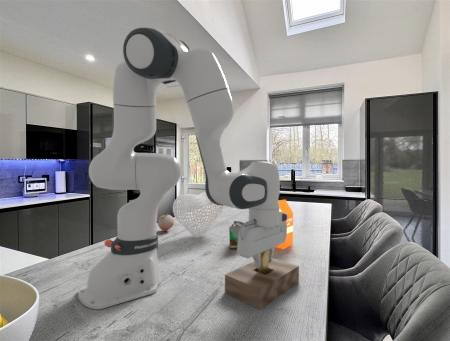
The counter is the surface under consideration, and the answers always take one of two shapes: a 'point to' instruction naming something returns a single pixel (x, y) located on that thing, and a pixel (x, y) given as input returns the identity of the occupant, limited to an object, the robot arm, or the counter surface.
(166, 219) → the decorative fruit
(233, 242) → the food container
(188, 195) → the heart
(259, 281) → the hole block
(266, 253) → the peg
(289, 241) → the orange juice
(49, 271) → the counter surface
